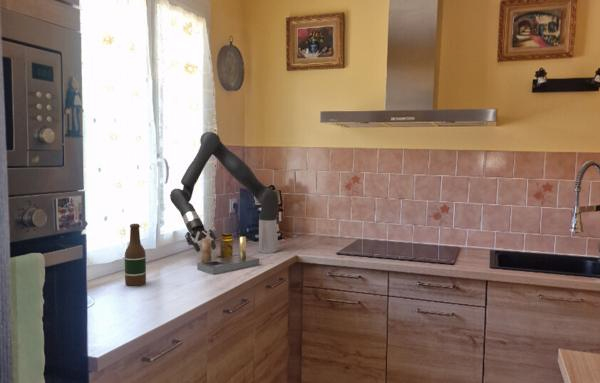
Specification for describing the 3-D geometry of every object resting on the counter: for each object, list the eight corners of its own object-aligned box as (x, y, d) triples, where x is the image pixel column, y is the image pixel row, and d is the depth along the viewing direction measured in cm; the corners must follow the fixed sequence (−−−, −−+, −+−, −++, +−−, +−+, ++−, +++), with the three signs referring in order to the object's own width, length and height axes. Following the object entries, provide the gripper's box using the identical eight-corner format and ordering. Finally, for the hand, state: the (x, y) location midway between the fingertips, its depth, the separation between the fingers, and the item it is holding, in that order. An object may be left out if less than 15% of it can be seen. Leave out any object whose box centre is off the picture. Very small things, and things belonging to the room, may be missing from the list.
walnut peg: (207, 262, 225) (207, 237, 224) (213, 264, 222) (213, 238, 221) (199, 263, 221) (199, 238, 221) (205, 265, 218) (205, 239, 217)
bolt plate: (242, 260, 229) (243, 234, 228) (259, 264, 221) (259, 237, 220) (197, 269, 211) (197, 240, 210) (212, 274, 203) (212, 244, 202)
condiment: (235, 257, 236) (235, 234, 235) (219, 259, 231) (219, 235, 230) (229, 255, 242) (229, 231, 241) (213, 256, 237) (213, 233, 236)
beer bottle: (145, 286, 183) (144, 225, 182) (124, 287, 181) (123, 225, 179) (146, 281, 191) (145, 222, 189) (125, 282, 189) (124, 222, 187)
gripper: (183, 219, 221) (197, 246, 213) (208, 216, 231) (222, 243, 224) (177, 228, 225) (190, 256, 218) (202, 225, 235) (216, 252, 228)
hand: (206, 249), depth 221 cm, fingers open, 8 cm apart
